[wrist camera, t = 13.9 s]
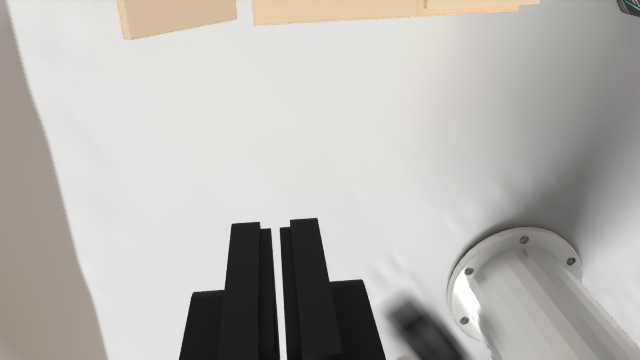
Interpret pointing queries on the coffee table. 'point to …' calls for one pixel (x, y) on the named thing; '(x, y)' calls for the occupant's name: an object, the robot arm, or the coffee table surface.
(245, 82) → the coffee table surface
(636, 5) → the tampon box
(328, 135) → the coffee table surface
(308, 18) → the carton
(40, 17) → the coffee table surface
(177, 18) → the flap
